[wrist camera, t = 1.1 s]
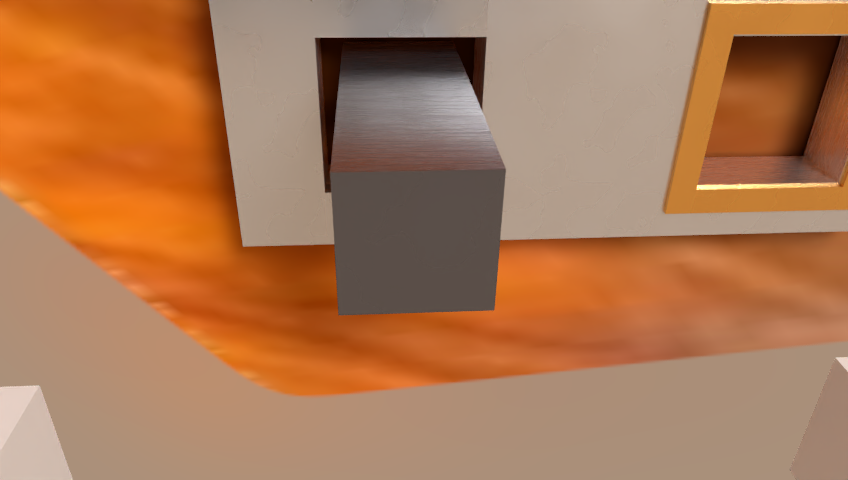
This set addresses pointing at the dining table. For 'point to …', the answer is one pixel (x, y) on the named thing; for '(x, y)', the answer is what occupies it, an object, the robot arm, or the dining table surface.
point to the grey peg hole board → (545, 113)
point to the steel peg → (413, 183)
